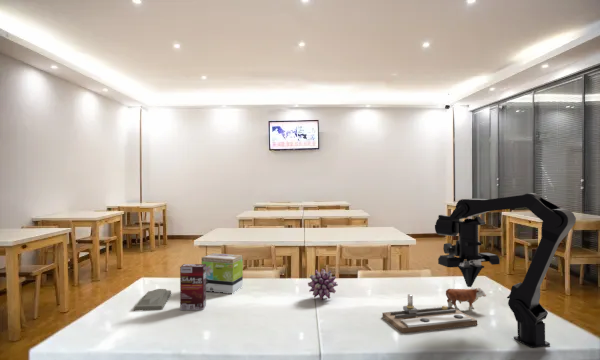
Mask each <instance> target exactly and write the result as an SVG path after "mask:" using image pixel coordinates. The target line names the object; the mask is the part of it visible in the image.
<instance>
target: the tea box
mask: <svg viewBox="0 0 600 360" xmlns="http://www.w3.org/2000/svg"><path fill="white" fill-rule="evenodd" d="M243 261H244V260H243V254H233V253H232V254H231V253H216V252H215V253H214V252H213V253H210V254H208V255H205V256H202V257H201V264H206V292H212V291H214V292H215V293H220V292H223V293H222V294H228V293H233V294H235V293H236V292H238V291H239V290H238V289H239V288H241V287H242V286H244V285H243V283H244V282H243V280H244V278H243V277H244V276H243V274H244V272H243V271H244V270H243V268H244V267H243V265H244V264H243ZM242 288H243V287H242ZM242 288H241V289H242ZM237 290H238V291H237ZM235 291H236V292H235ZM234 292H235V293H234Z"/></svg>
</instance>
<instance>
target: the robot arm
mask: <svg viewBox="0 0 600 360" xmlns="http://www.w3.org/2000/svg"><path fill="white" fill-rule="evenodd" d="M520 208H521V209H522V208H527V209H528V210H529V211H530V212H531V213H532V214H534V216H535V217H536V218H538V219H540V221H542V223H541V229H540V230H541V231H540V232H541V237H540V240H539V243H538V245H537V248H536V250H535V253H534V255H533V257H532V259H531V262H530V264H529V266H528V269H527V271H526V274H525V276H524V278H523V280H522V282H521V281H520V282H518V283H515V284H513V285H512V286H511V289H510V293H509V295H508V296H507V297H506V298H507V299H508V301H507V305H508V307H509V308H510V309H509V310H511V312H512V313H513V315H514V318H515V320H516V322H517V335H515V336H513V339H514V340H516V341H518V342H519V343H522V344H524V345H526V346H527V347H529V348H539V347H546V346H551V343H550V342H548V341H546V323H545V322H544V321H543V320H545V319H547V317H548V311H547V310H546V308H545V307H543V305H542V304H541V303H540V299H541V287H542V283H543V281H544V279H545V277H546V275H547V272H548V270H549V267H550V265H551V264H552V261H553V258H554V257H555V254H556V251H557V250H558V247H559V246H560V244H561V242H562V240H564V238H565V237H566V236H567V235H568V234H569V233H570V231H571V230H572V228H573V227H574V226H575V225H576V221H577V218H576V216H575V214H574V213H573V211H571V210H570V209H568V208H561V207H560V206H558V205H557V204H555V203H553V202H552V201H549V200H547V199H546V198H544V197H542V196H540V195H539V194H538V193H535V192H534V193H533V192H530V193H528V192H527V193H525V194H521V195H519V194H518V195H512V196H511V195H510V196H505V197H498V198H496V197H495V198H489V199H487V198H486V199H485V198H461V199H459V200H457V202H456V205H455V208H454V210H453V212H452V213H450V215H446V214H438V216H437V217H438V218H437V219H436V221H435V224H434V231H435V233H436V234H437V235H438V236H448V237H449V236H450V237H457V235H458V239H456V241H455V244H452V243H450V242H449V243H446V242H445V243H444V244H443V252H444V255H443V254H442V255H439V256H438V259H437V261H438V265H441V266H442V267H445V268H449V269H451V268H458V269H459V270H460V272H461V274H462V277H463V280H464V282H465V285H466V286H467V287H468V288H472V286H473V284H474V283H475V281H476V279H477V277H478V275H479V274H480V273H481V270H482V269H484V268H485V265H482V263H486V262H489V264H491V265H494V266H495V265H500V261H501V259H500V257H499V255H498V254H494V253H492V252H491V253H490V252H479V251H480V250H479V248H480V247H479V246H482V241H479V226H482V225H486V222H485V221H484V220H483V219H482V217H480V216H479V215H483V214H486V213H488V212H489V213H490V212H493V211H494V212H495V211H503V210H512V209H514V210H515V209H520ZM472 217H474V218H472ZM462 219H463V220H462Z"/></svg>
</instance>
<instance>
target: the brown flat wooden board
mask: <svg viewBox="0 0 600 360" xmlns="http://www.w3.org/2000/svg"><path fill="white" fill-rule="evenodd" d="M416 309H417V313H411V314H409V313H407V312H406V311H404V310H396V311H387V312H382V318H383V319H384V320H386V321H387V322H388V323H389V324H391V325H392V326H394V327H395V328H396V329H397V330H398V331H400V332H401V333H402V334H406V333H407V334H408V333H414V332H415V333H417V332H423V331H424V332H425V331H432V330H433V331H434V330H442V329H444V330H445V329H449V328H450V329H453V328H463V327H470V326H477V325H478V319H476V318H474V317H472V316H471V315H468V314H466V313H464V312H462V311H460V310H457V309H455V307H454V306H452V307H451V306H448V305H447V306H446V305H441V306H440V307H439V306H438V307H430V308H416Z"/></svg>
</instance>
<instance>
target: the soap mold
mask: <svg viewBox="0 0 600 360" xmlns="http://www.w3.org/2000/svg"><path fill="white" fill-rule="evenodd" d="M171 293H172V290H170V289H169V290H167V289H166V288H156V289H154V290H148V291H147V292H146V293H145V294H144V296H143V297H142V298H141V299H140V300H139V301H138V303H137V304H136V305H135V306H134V308H133V312H136V311H135V310H143V311H155V310H156V311H158V310H163V309H164V308H165V305H166V304H167V303H166V302H168V301H169V299H170V298H169V296H170V294H171ZM171 295H172V294H171ZM170 297H171V296H170ZM168 298H169V299H168ZM167 300H168V301H167Z"/></svg>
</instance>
